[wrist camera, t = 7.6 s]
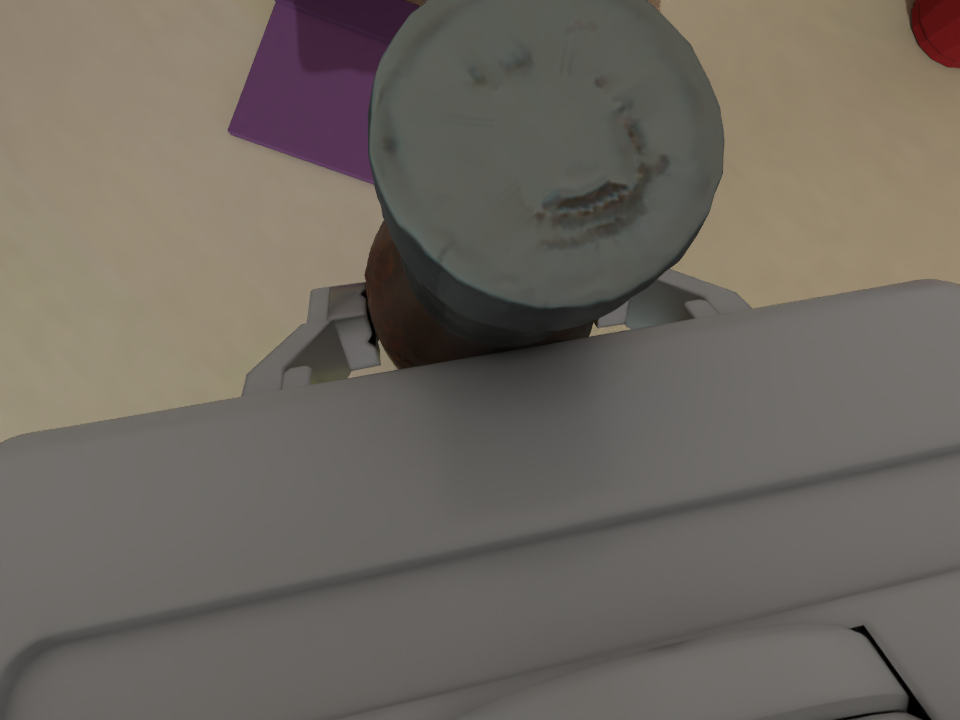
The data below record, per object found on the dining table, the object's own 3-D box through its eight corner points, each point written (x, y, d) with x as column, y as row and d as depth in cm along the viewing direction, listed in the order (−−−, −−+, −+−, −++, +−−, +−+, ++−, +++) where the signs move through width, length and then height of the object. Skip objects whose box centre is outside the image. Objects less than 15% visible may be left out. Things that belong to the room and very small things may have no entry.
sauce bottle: (511, 411, 25) (798, 523, 5) (390, 393, 24) (189, 440, 5) (529, 286, 25) (862, -55, 6) (410, 266, 25) (307, -190, 5)
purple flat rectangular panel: (230, 134, 25) (224, 127, 25) (294, -36, 26) (290, -47, 25) (620, 270, 27) (625, 267, 26) (670, 105, 27) (676, 98, 27)
